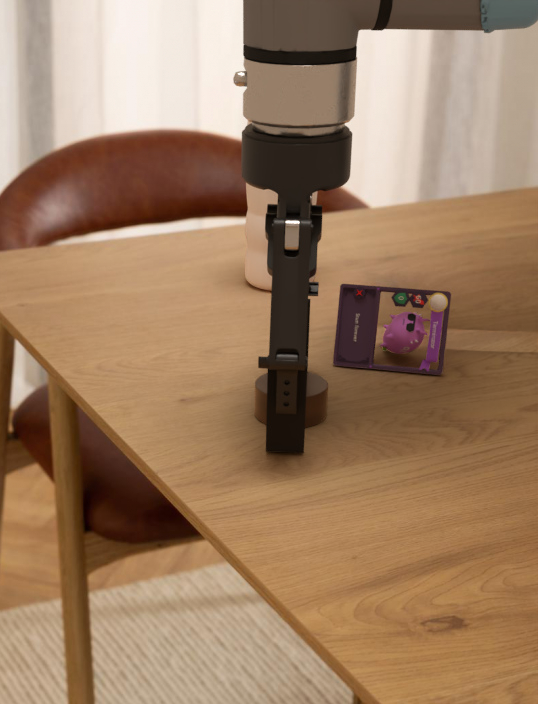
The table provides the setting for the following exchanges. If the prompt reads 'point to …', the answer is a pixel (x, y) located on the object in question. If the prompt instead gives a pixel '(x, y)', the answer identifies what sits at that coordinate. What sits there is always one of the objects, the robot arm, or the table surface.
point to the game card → (389, 327)
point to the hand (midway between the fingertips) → (287, 411)
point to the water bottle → (259, 235)
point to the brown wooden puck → (314, 399)
